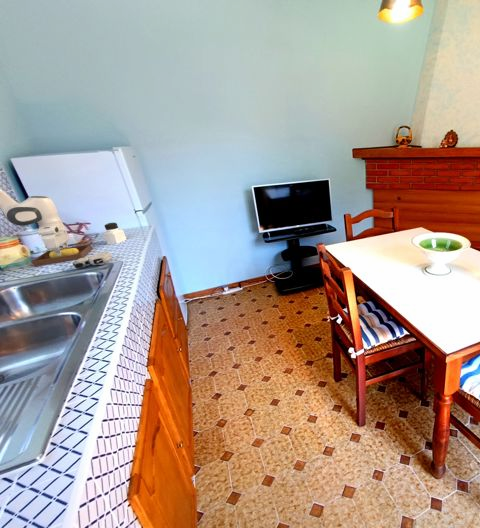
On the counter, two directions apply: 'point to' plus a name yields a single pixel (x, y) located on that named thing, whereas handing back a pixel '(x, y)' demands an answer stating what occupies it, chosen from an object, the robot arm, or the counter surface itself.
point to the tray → (47, 260)
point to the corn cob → (64, 252)
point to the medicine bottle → (113, 234)
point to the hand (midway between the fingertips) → (63, 252)
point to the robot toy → (92, 260)
